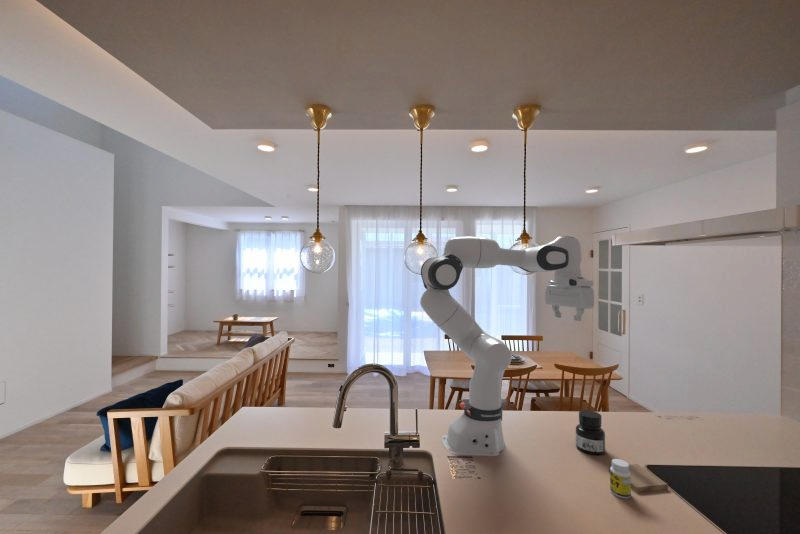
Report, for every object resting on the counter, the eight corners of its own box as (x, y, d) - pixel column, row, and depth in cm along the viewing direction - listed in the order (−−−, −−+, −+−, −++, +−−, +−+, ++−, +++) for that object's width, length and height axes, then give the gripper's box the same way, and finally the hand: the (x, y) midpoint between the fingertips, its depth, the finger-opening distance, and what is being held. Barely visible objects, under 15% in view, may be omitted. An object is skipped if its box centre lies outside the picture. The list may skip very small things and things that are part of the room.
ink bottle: (571, 449, 116) (571, 413, 117) (577, 439, 123) (577, 406, 123) (603, 459, 110) (603, 422, 110) (608, 448, 117) (608, 413, 117)
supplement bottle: (606, 488, 95) (606, 458, 95) (622, 487, 95) (621, 457, 96) (618, 499, 90) (618, 467, 90) (635, 498, 91) (635, 467, 91)
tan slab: (636, 494, 93) (636, 487, 93) (608, 473, 103) (608, 466, 103) (667, 491, 95) (667, 484, 95) (637, 470, 105) (637, 464, 105)
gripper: (540, 280, 133) (540, 315, 132) (582, 281, 113) (582, 323, 113) (554, 280, 134) (554, 315, 134) (597, 281, 115) (597, 322, 114)
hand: (567, 319), depth 123 cm, fingers open, 8 cm apart
